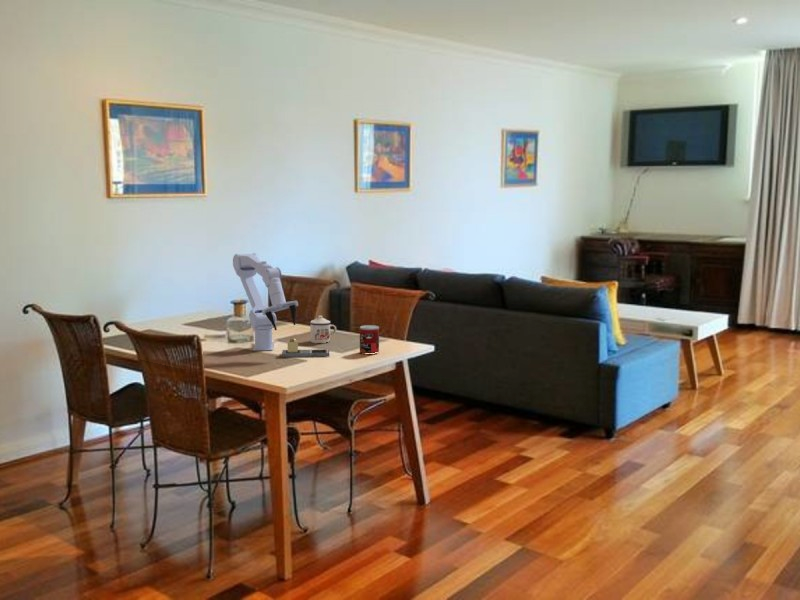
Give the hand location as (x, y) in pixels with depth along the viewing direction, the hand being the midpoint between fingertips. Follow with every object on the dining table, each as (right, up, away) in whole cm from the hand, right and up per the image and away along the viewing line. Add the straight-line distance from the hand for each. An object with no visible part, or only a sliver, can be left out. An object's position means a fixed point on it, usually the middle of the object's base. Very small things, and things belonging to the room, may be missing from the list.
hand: (285, 326), depth 313 cm
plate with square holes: (+7, -12, +7) cm, 15 cm away
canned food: (+33, -11, +12) cm, 37 cm away
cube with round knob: (+2, -12, +6) cm, 14 cm away
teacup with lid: (+12, -8, +35) cm, 38 cm away
